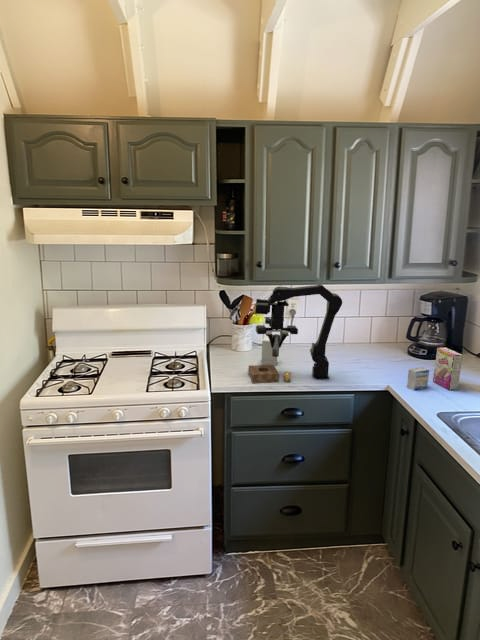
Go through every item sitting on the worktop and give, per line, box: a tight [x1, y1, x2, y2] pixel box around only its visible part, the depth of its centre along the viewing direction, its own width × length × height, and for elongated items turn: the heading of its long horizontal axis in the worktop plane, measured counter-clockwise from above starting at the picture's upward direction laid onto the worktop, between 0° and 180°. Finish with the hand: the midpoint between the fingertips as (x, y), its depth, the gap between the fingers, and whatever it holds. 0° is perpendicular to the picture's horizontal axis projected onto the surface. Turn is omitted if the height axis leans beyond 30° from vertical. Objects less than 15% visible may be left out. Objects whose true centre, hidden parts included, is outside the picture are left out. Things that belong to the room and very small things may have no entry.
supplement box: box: [260, 336, 278, 367], centre depth 235 cm, size 7×7×13 cm
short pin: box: [283, 371, 292, 383], centre depth 213 cm, size 3×3×4 cm
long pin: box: [272, 333, 280, 358], centre depth 217 cm, size 3×3×10 cm
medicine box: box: [406, 366, 430, 391], centre depth 208 cm, size 8×4×9 cm, turn 114°
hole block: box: [247, 364, 280, 384], centre depth 216 cm, size 12×12×4 cm
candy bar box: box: [432, 346, 464, 391], centre depth 210 cm, size 11×5×16 cm, turn 17°
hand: (275, 347), depth 217 cm, fingers closed on long pin, 3 cm apart
